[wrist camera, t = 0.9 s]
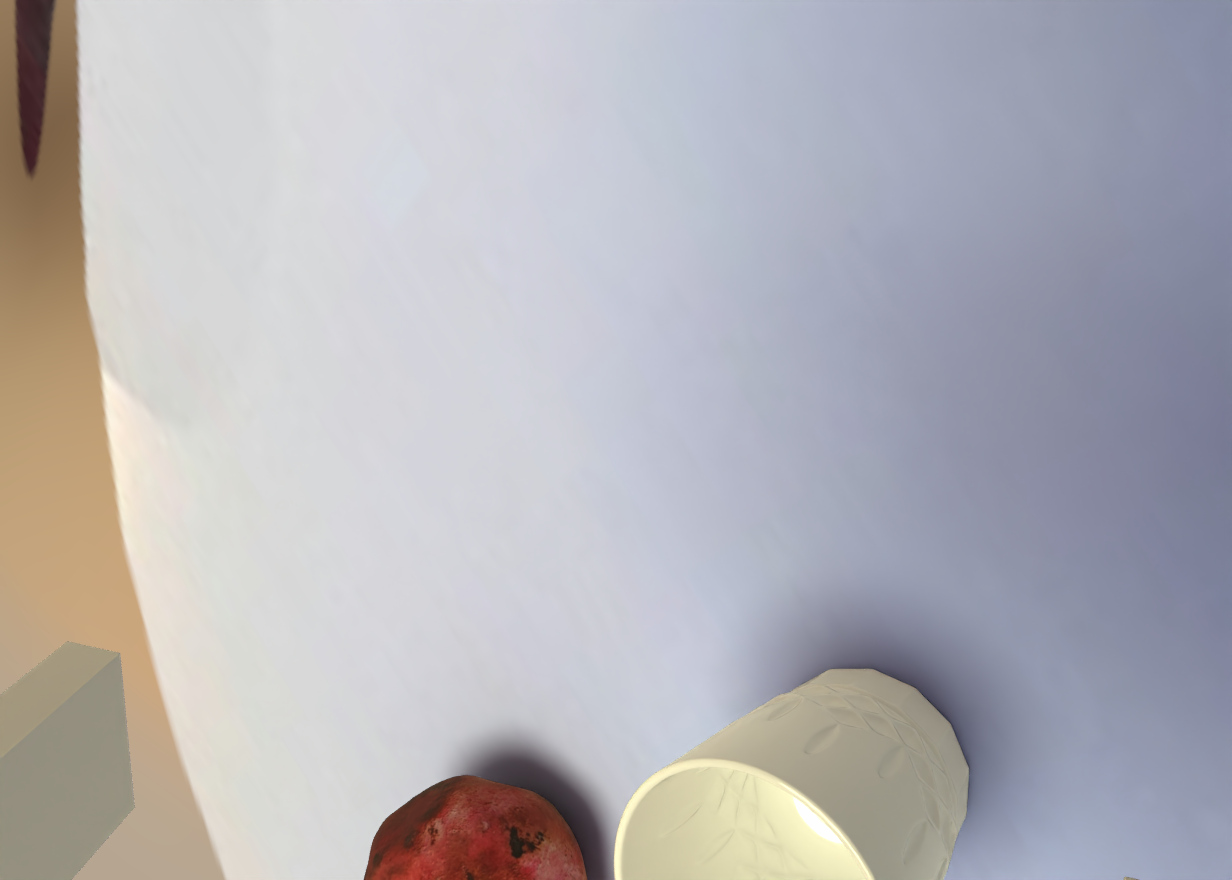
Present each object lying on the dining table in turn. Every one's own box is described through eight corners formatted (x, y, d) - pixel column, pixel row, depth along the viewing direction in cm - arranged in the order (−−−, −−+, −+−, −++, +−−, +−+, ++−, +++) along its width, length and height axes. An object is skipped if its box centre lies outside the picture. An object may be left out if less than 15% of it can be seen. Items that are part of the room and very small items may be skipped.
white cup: (1031, 862, 28) (953, 1077, 20) (813, 885, 32) (674, 1069, 24) (931, 623, 29) (818, 732, 21) (733, 676, 33) (574, 784, 25)
